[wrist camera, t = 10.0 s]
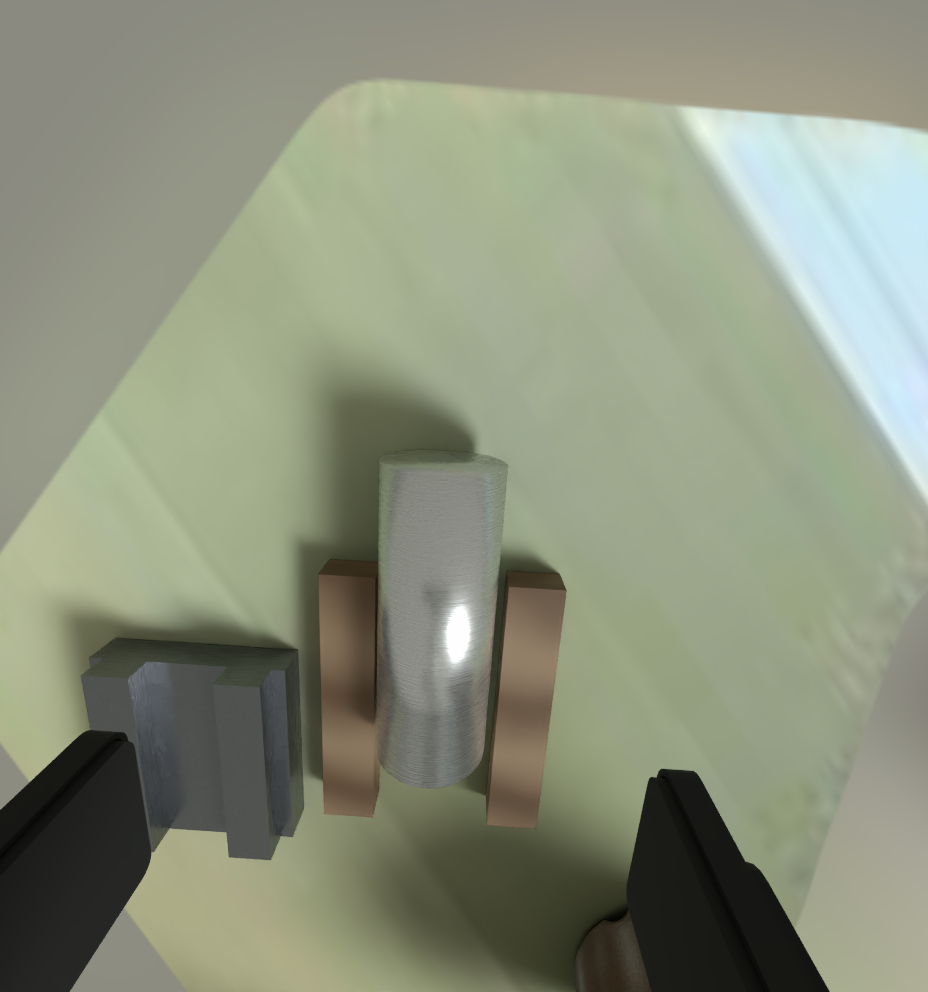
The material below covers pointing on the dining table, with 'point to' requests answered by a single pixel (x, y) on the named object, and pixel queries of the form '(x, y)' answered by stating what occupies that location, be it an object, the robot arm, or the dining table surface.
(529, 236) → the dining table surface
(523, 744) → the wooden blocks
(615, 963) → the plant pot
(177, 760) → the v block
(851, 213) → the dining table surface
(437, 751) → the axle
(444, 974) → the dining table surface
